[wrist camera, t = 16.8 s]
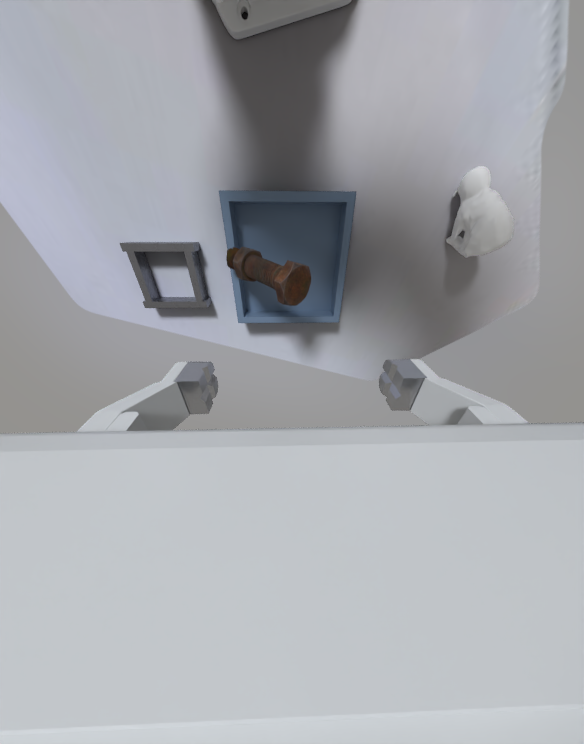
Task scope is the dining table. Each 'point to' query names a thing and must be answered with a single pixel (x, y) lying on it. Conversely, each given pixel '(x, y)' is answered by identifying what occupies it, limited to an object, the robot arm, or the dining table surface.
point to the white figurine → (480, 216)
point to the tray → (291, 249)
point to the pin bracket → (147, 281)
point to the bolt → (271, 274)
